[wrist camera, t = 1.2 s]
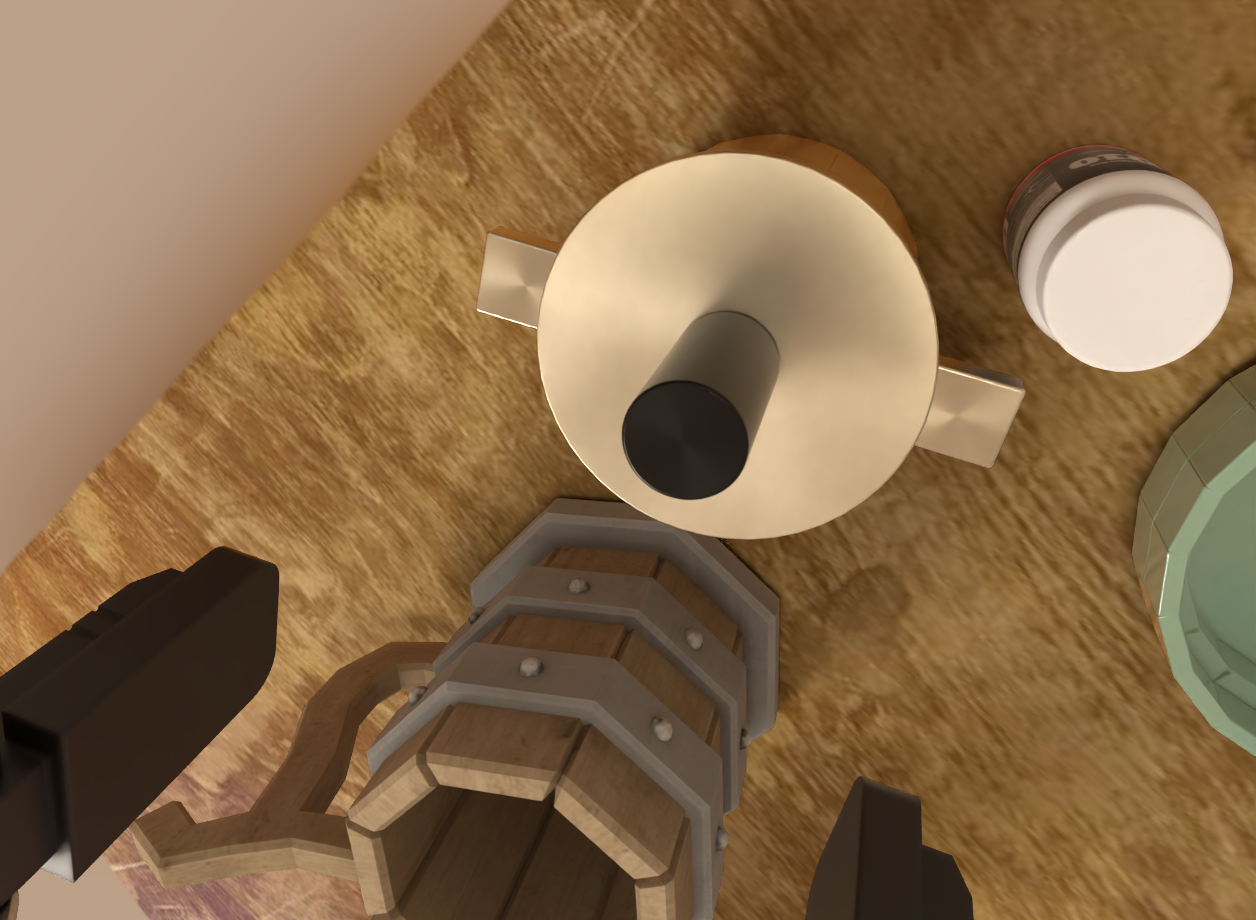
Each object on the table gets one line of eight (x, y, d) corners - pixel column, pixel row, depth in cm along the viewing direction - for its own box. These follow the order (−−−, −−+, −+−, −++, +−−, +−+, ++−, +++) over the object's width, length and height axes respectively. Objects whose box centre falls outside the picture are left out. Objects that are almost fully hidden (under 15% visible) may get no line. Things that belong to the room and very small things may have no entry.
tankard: (781, 511, 36) (706, 793, 23) (778, 772, 41) (715, 1125, 28) (316, 477, 41) (38, 692, 28) (365, 713, 46) (149, 987, 33)
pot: (588, 79, 32) (496, 96, 25) (1050, 202, 29) (1094, 260, 22) (538, 351, 36) (448, 431, 29) (936, 474, 34) (942, 593, 27)
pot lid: (588, 99, 25) (488, 123, 19) (1004, 210, 23) (1035, 275, 17) (521, 458, 29) (427, 565, 24) (860, 569, 28) (847, 713, 22)
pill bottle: (1202, 175, 28) (1305, 230, 21) (1115, 320, 30) (1181, 416, 23) (1047, 119, 29) (1094, 153, 21) (973, 265, 31) (993, 343, 23)
